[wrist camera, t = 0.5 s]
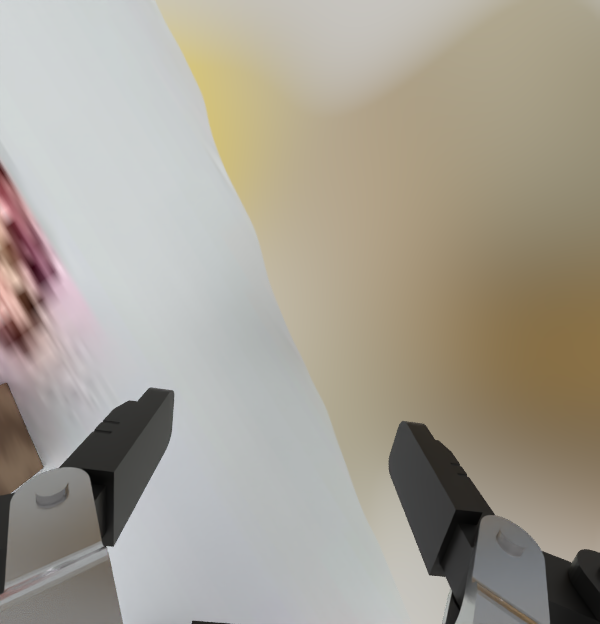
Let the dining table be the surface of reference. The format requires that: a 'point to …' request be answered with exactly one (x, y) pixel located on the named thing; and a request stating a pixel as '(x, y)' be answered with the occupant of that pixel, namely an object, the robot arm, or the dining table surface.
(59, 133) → the dining table surface
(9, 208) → the dining table surface
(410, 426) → the robot arm
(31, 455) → the pedestal
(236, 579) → the dining table surface
